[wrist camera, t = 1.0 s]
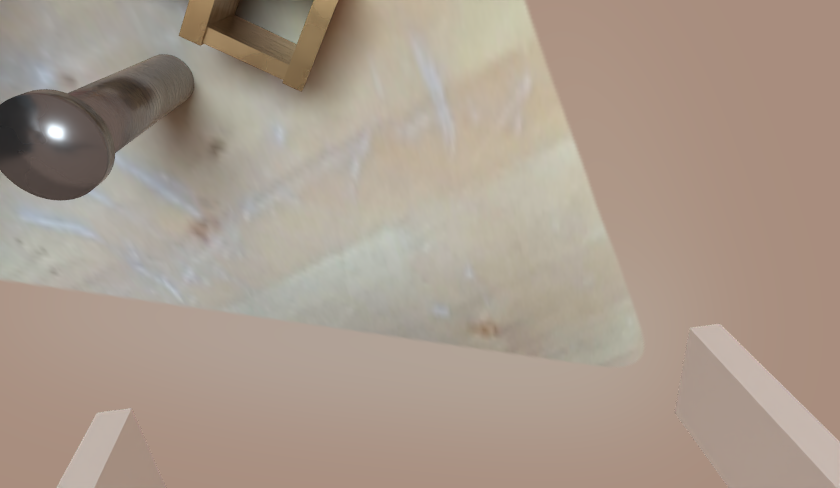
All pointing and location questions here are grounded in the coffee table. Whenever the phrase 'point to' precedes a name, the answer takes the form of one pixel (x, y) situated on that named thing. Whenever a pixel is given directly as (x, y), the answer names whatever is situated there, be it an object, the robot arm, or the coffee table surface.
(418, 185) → the coffee table surface
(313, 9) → the hinge
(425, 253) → the coffee table surface
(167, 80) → the hinge pin
